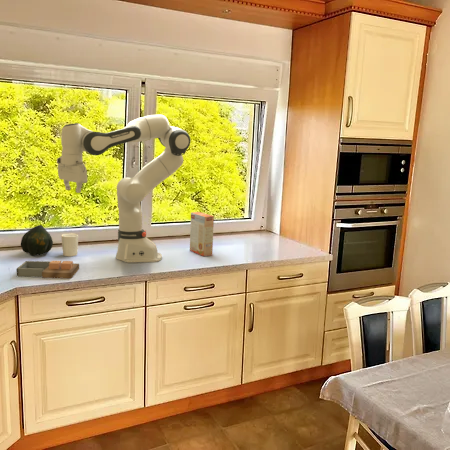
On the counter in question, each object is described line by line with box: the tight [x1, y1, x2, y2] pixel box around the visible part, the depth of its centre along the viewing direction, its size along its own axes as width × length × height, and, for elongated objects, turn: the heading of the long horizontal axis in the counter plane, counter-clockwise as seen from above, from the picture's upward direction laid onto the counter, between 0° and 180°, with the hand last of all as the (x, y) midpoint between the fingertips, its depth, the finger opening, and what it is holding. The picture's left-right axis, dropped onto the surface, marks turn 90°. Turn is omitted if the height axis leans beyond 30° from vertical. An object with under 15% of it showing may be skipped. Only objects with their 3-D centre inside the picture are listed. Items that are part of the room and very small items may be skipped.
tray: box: [16, 260, 51, 278], centre depth 208 cm, size 11×12×4 cm
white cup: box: [61, 232, 79, 257], centre depth 238 cm, size 8×8×10 cm
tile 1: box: [49, 260, 62, 269], centre depth 208 cm, size 4×4×2 cm
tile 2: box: [61, 260, 74, 269], centre depth 208 cm, size 4×4×2 cm
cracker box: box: [189, 211, 215, 257], centre depth 250 cm, size 14×6×21 cm, turn 34°
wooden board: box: [41, 262, 80, 279], centre depth 209 cm, size 12×14×2 cm
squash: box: [20, 224, 54, 257], centre depth 237 cm, size 14×15×15 cm
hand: (73, 191), depth 217 cm, fingers open, 8 cm apart
